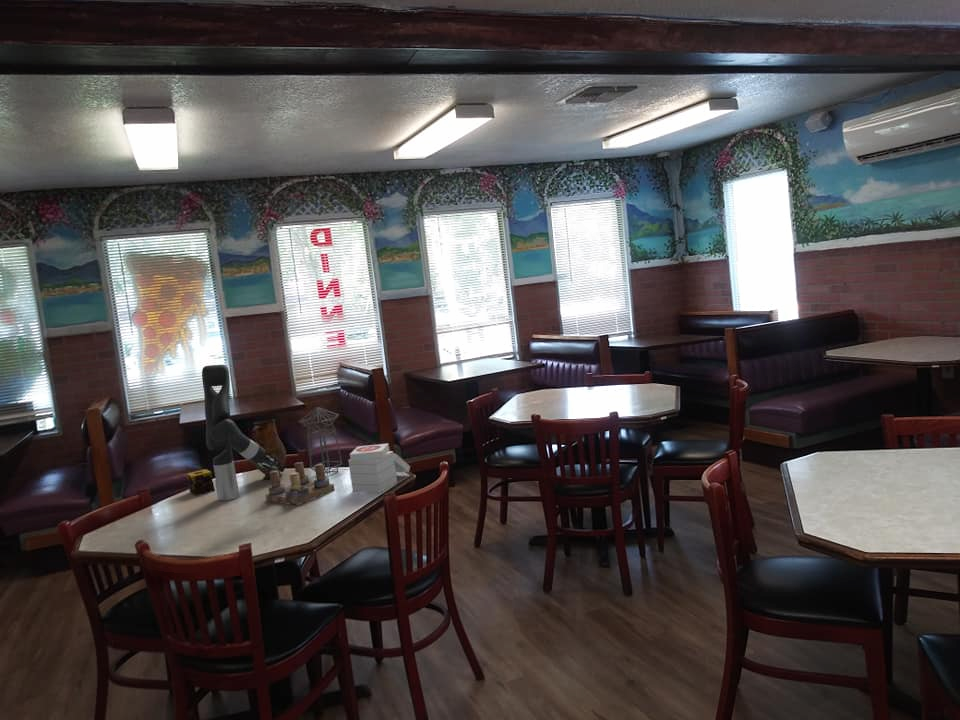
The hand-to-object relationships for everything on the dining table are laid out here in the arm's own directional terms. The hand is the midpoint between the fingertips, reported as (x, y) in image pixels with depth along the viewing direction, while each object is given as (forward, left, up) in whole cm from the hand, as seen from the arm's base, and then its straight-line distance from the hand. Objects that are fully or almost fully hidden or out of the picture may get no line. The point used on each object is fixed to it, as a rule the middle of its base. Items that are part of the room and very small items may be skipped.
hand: (277, 469), depth 319 cm
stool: (-7, +16, -17) cm, 25 cm away
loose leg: (0, +9, -14) cm, 17 cm away
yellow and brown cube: (-70, +5, -18) cm, 73 cm away
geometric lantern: (-23, +46, -18) cm, 55 cm away
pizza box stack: (+19, +42, -18) cm, 50 cm away
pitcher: (-50, +32, -18) cm, 62 cm away
